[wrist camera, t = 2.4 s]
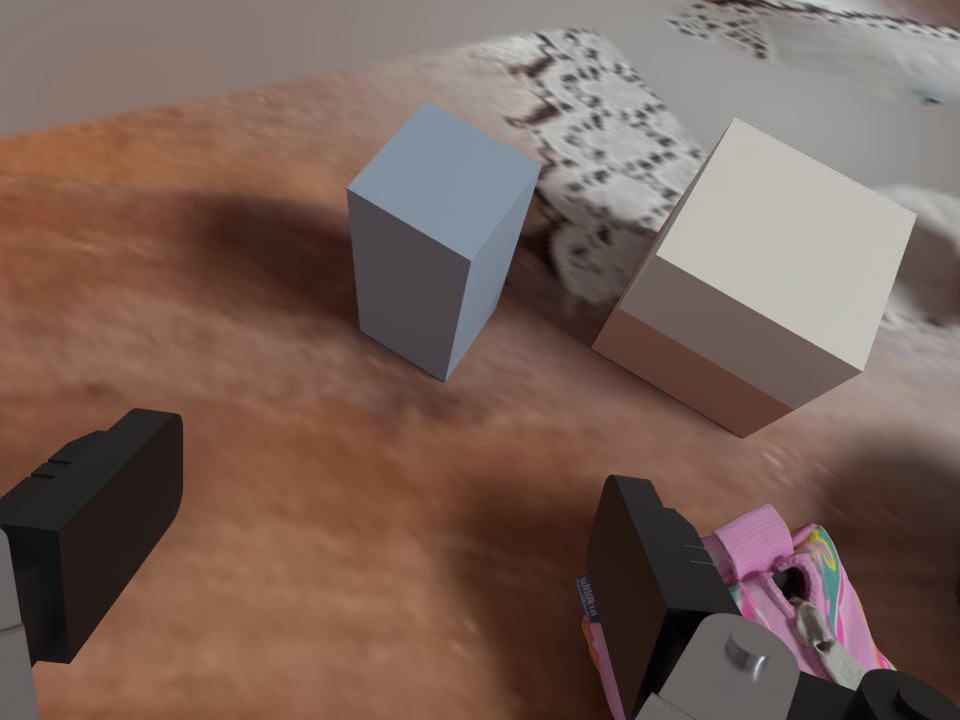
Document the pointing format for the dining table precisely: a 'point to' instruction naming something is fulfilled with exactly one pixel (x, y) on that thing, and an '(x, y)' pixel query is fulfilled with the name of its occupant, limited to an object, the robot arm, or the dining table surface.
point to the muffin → (958, 591)
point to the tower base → (759, 284)
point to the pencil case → (775, 599)
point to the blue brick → (436, 236)
